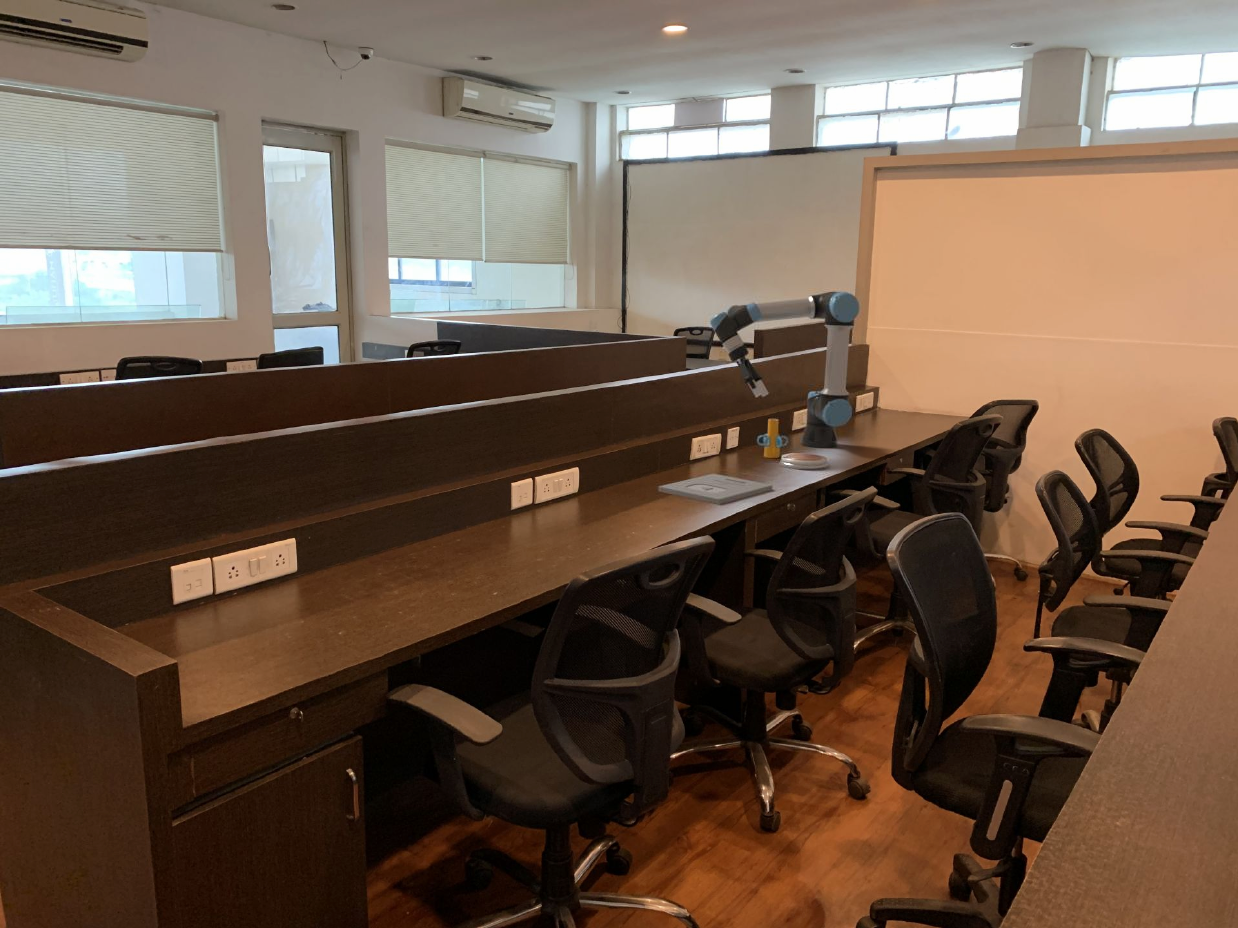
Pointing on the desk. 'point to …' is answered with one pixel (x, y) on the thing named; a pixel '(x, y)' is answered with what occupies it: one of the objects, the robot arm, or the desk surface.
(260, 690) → the desk surface
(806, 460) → the platter
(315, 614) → the desk surface
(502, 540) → the desk surface
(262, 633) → the desk surface
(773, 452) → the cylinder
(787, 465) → the base
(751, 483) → the award plaque
